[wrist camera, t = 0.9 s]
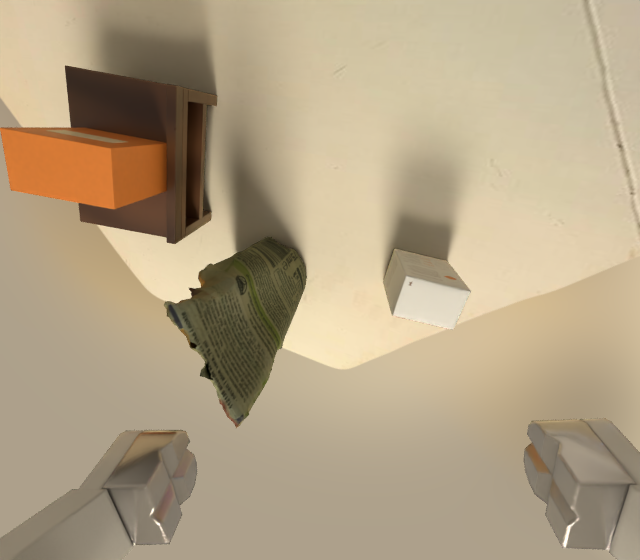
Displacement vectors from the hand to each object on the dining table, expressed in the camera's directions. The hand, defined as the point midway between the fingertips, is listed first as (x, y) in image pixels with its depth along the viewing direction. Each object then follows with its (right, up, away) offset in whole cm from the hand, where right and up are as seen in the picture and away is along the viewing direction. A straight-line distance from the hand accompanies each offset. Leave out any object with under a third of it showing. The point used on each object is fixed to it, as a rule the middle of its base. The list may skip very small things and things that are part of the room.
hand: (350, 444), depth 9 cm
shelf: (-21, +21, +39) cm, 49 cm away
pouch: (-8, +5, +45) cm, 46 cm away
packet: (-21, +17, +30) cm, 41 cm away
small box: (+13, +5, +43) cm, 46 cm away
